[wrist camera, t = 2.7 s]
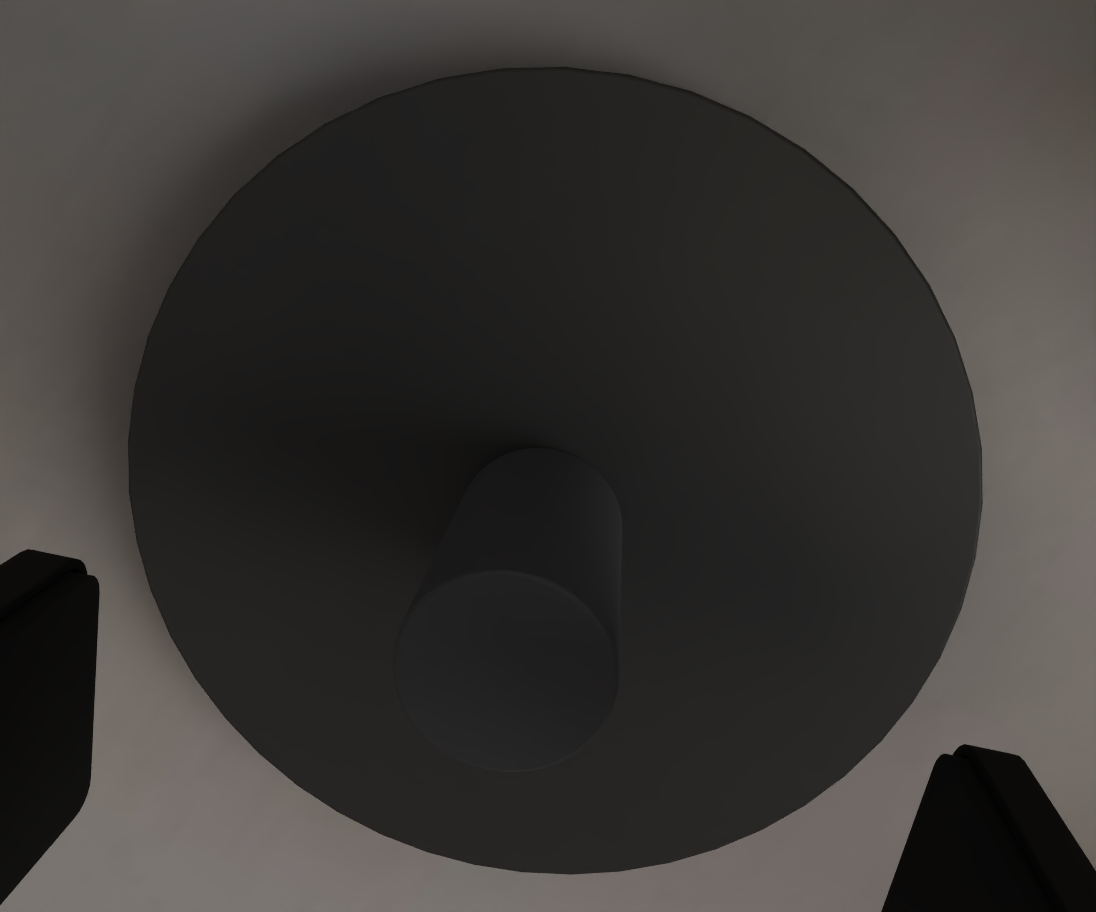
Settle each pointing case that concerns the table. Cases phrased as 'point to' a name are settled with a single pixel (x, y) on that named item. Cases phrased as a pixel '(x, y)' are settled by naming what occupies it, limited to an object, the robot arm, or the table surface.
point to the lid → (555, 470)
